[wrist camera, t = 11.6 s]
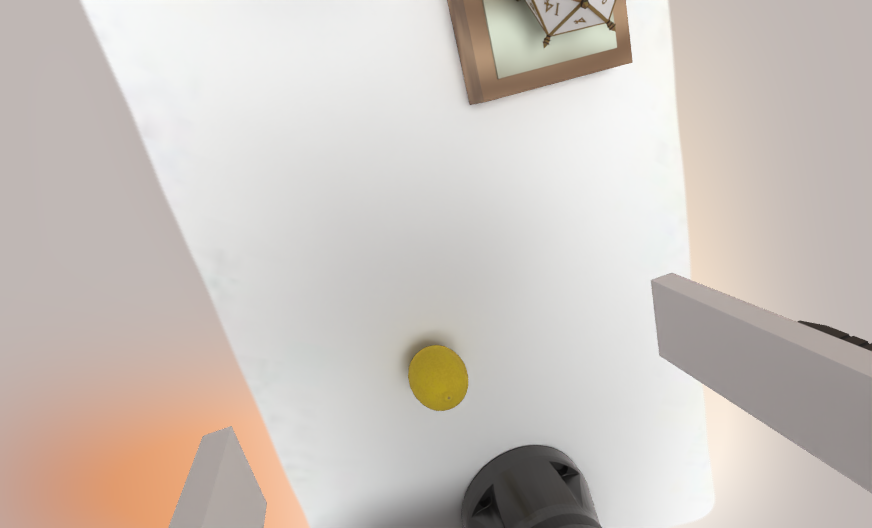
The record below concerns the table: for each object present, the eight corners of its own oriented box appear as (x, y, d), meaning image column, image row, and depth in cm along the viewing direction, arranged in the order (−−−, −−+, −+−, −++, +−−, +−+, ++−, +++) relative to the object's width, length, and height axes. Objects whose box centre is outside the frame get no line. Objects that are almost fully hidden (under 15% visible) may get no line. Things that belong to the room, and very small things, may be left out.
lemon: (461, 369, 51) (486, 410, 43) (412, 390, 50) (429, 436, 42) (444, 324, 49) (468, 359, 41) (394, 346, 48) (408, 385, 41)
